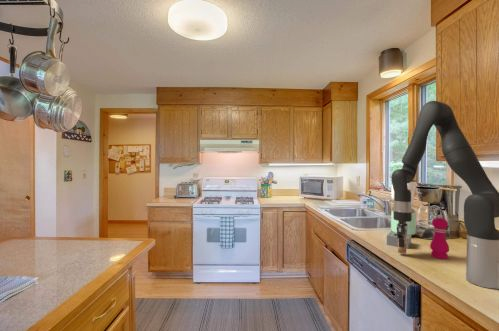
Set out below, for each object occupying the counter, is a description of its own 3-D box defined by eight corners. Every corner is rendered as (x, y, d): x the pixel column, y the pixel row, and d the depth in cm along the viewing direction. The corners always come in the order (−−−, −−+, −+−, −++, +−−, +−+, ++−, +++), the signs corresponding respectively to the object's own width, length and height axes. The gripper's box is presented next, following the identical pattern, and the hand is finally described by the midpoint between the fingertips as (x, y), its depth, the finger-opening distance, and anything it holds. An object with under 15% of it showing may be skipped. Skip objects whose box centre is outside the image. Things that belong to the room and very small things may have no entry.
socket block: (411, 244, 137) (411, 235, 137) (408, 248, 129) (408, 239, 129) (390, 240, 143) (390, 231, 143) (386, 244, 136) (386, 235, 136)
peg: (406, 252, 121) (406, 231, 121) (405, 254, 118) (405, 233, 118) (398, 250, 123) (398, 230, 123) (397, 252, 120) (397, 231, 120)
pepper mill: (434, 258, 116) (435, 215, 116) (427, 253, 123) (427, 212, 123) (452, 260, 114) (453, 216, 114) (444, 254, 121) (444, 213, 121)
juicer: (399, 230, 165) (400, 177, 164) (421, 235, 153) (422, 179, 152) (382, 234, 155) (382, 178, 155) (404, 240, 144) (405, 179, 143)
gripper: (409, 213, 113) (409, 251, 113) (413, 209, 123) (413, 244, 123) (390, 211, 117) (390, 248, 117) (396, 207, 128) (396, 241, 128)
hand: (402, 245), depth 120 cm, fingers closed on peg, 3 cm apart
